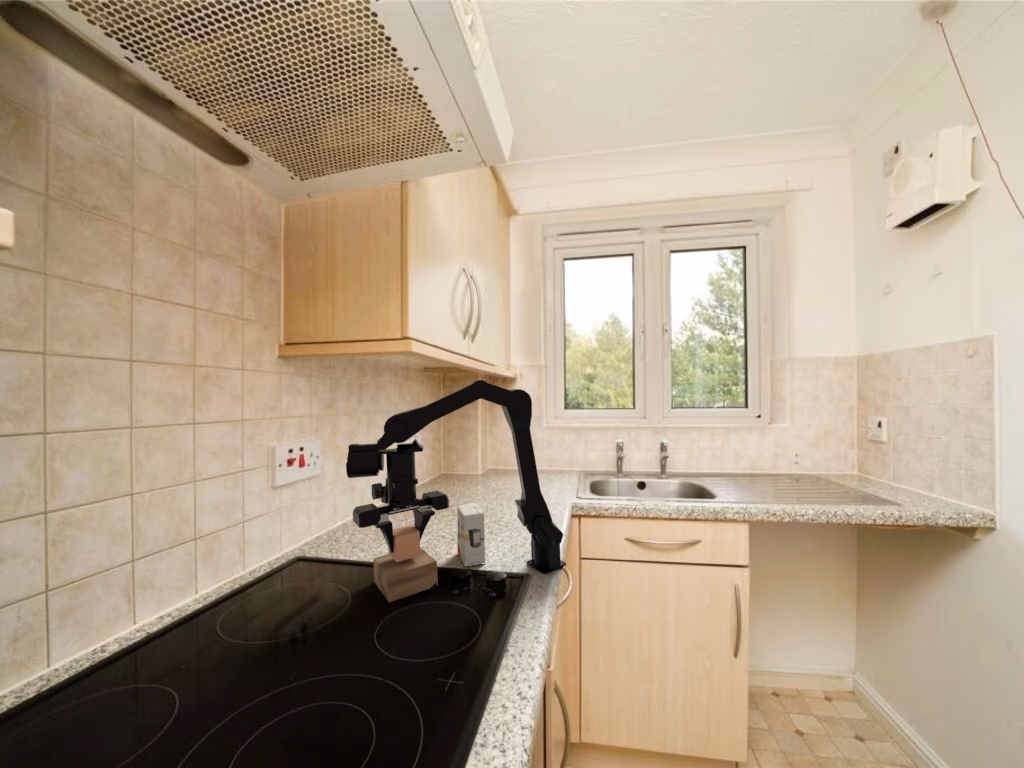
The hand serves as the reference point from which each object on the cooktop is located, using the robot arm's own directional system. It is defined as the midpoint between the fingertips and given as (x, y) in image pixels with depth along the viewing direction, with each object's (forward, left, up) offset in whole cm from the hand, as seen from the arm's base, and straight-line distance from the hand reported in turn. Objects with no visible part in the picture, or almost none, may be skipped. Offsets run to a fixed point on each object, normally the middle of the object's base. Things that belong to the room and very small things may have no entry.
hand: (404, 548), depth 82 cm
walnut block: (0, 0, -7) cm, 7 cm away
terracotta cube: (0, 0, -1) cm, 1 cm away
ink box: (+2, -16, -8) cm, 18 cm away
